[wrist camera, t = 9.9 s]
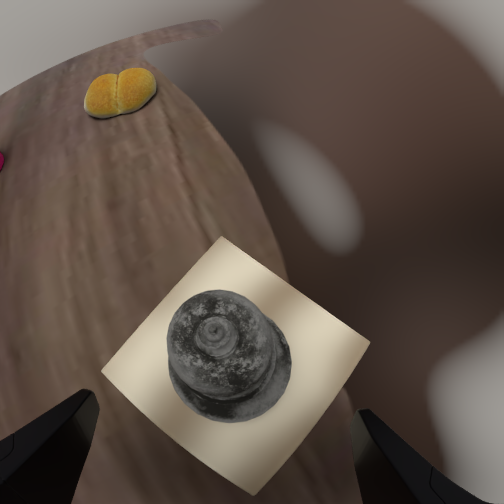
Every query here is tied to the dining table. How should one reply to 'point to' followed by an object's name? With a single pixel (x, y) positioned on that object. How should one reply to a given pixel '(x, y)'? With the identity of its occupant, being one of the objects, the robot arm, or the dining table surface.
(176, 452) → the dining table surface
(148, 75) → the bread roll
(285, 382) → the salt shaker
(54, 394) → the dining table surface
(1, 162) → the pepper mill
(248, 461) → the plate
